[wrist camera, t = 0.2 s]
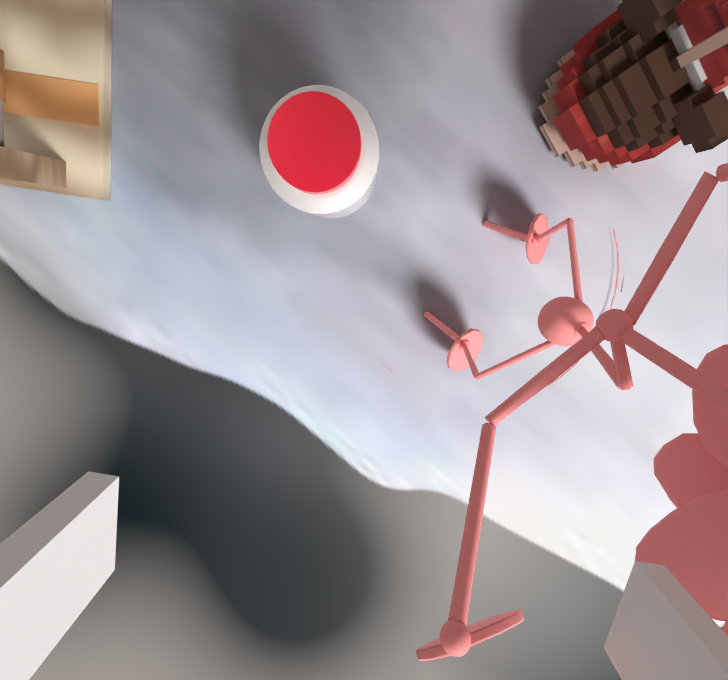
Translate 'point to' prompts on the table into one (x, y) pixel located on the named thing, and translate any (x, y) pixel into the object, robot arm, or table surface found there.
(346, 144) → the pill bottle
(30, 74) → the pipe rig
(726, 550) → the figurine
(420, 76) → the table surface
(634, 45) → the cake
